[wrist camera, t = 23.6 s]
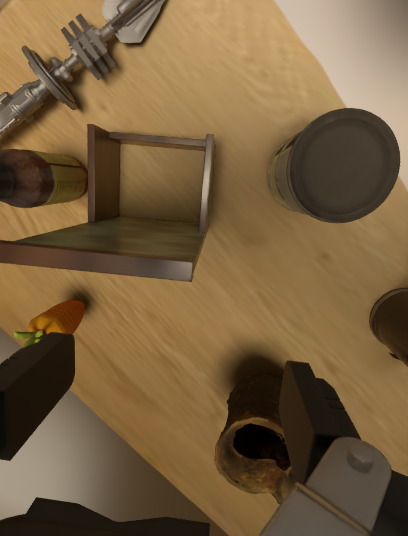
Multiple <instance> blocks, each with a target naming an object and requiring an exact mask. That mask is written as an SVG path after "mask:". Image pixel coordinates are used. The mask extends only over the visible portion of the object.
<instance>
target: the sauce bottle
mask: <svg viewBox="0 0 408 536" xmlns="http://www.w3.org/2000/svg"><path fill="white" fill-rule="evenodd" d="M87 186H88V177H87V173H86V171H85V169H84V166H83V165H82V164H81V163H80V162H78V161H77V160H75V159H73V158H70V157H69V156H65V155H59V154H52V153H44V152H38V151H31V150H18V149H6V150H2V151H0V201H2V202H5V203H7V204H9V205H12V206H15V207H20V208H32V207H38V206H44V205H51V204H57V203H64V202H70V201H73V200H75V199H78V198H79V197H81V196H82V195H83V193H84V192H85V190H86V189H87Z"/></svg>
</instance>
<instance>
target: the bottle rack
mask: <svg viewBox="0 0 408 536" xmlns="http://www.w3.org/2000/svg"><path fill="white" fill-rule="evenodd" d="M87 127H88V222H87V223H83V224H79V225H76V226H72V227H68V228H64V229H60V230H56V231H52V232H48V233H44V234H40V235H36V236H32V237H28V238H24V239H20V240H16V241H4V240H0V263H9V264H19V265H29V266H39V267H49V268H59V269H69V270H79V271H89V272H99V273H109V274H119V275H129V276H139V277H149V278H159V279H169V280H179V281H189V282H192V279H193V273H194V270H195V267H196V264H197V261H198V258H199V255H200V252H201V249H202V246H203V243H204V240H205V237H206V234H207V231H208V224H209V213H210V202H211V191H212V180H213V169H214V158H215V147H216V146H215V139H214V135H212V134H207V137H206V140H199V139H187V138H176V137H164V136H152V135H141V134H129V133H117V132H108V131H106V130H104V129H102V128H100V127H98V126H96V125H94V124H87ZM120 144H131V145H143V146H154V147H166V148H177V149H189V150H200V151H205V161H204V173H203V185H202V197H201V209H200V221H199V224H196V223H185V222H175V221H164V220H154V219H143V218H132V217H122V216H119V176H120Z"/></svg>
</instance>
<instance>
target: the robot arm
mask: <svg viewBox="0 0 408 536" xmlns="http://www.w3.org/2000/svg"><path fill="white" fill-rule="evenodd" d="M370 327H371V330H372V332H373V334H374V335H375V337H376V338H377V339H378V340H379V341H380V342H382V343H383V344H384V345H385V346H387V347H388V348H389V349H390V350H391V351H392V352H393V353H394V354H395V355H394V354H391V353H389V352H388V353H389V354H390V355H391V356H393V357H394V358H396V359H399V360H401V361H402V362H403V363H404V364H405V365H406V366H407V367H408V288H405V289H398V290H394V291H392V292H389V293H388V294H386V295H384V296H383V297H382V298H381V299H380V300H379V301H378V302H377V303H376V304H375V306H374V307H373V309H372V312H371V315H370ZM74 375H75V339H74V336H73V335H72V334H67V333H59V332H50V333H49V334H48V335H46V336H45V337H44V338H42V339H41V340H40V341H39V342H37V343H33V344H31V345H29V346H26V347H24V348H22V349H20V350H18V351H17V352H16V353H14V354H13V355H12V356H10V358H9V359H6V360H5V361H4V362H2V363H1V365H0V459H1V460H8V461H10V460H11V459H12V458H13V457H14V455H15V454H16V453H17V452H18V451H19V449H20V448H21V447H22V446H23V445H24V443H25V442H26V441H27V440H28V438H29V437H30V436H31V435H32V434H33V432H34V431H35V430H36V429H37V427H38V426H39V425H40V424H41V422H42V421H43V420H44V419H45V418H46V416H47V415H48V414H49V413H50V411H51V410H52V409H53V408H54V407H55V405H56V404H57V403H58V402H59V400H60V399H61V398H62V397H63V395H64V394H65V393H66V392H67V391H68V389H69V388H70V386H71V385H72V382H73V379H74ZM279 414H280V419H281V424H282V428H283V432H284V437H285V441H286V446H287V450H288V454H289V459H290V463H291V468H292V472H293V476H294V481H295V484H294V486H293V487H292V488H291V490H290V491H289V493H288V494H287V496H286V497H285V498H284V500H283V501H282V503H281V504H280V506H279V507H278V508H277V510H276V511H275V513H274V514H273V516H272V517H271V518H270V520H269V521H268V523H267V524H266V526H265V527H264V528H263V530H262V531H261V533H260V534H259V536H408V477H407V476H405V475H402V474H400V473H397V472H395V471H393V470H392V469H391V466H390V464H389V462H388V460H387V459H386V458H385V456H384V455H383V454H382V453H381V452H380V451H379V450H377V449H376V448H375V447H373V446H372V445H370V444H369V443H367V442H365V441H362V440H361V438H360V436H359V434H358V432H357V430H356V429H355V427H354V425H353V423H352V421H351V419H350V417H349V415H348V414H347V412H346V410H345V408H344V406H343V404H342V402H341V401H340V399H339V397H338V395H337V393H336V391H335V389H334V388H333V387H332V386H331V385H329V384H328V383H327V382H326V381H325V380H324V379H320V378H316V377H315V375H314V373H313V371H312V369H311V367H310V365H309V363H304V362H296V361H287V362H286V364H285V369H284V375H283V381H282V387H281V393H280V399H279ZM209 527H210V523H203V522H197V521H190V520H183V519H177V518H169V517H161V518H153V519H144V520H136V521H127V522H116V521H113V520H111V519H109V518H107V517H104V516H102V515H100V514H98V513H96V512H94V511H92V510H90V509H88V508H86V507H84V506H82V505H80V504H77V503H71V502H64V501H57V500H51V499H44V498H38V497H36V499H35V500H34V502H33V503H32V505H31V506H30V508H29V510H28V511H27V513H26V514H23V515H17V516H13V517H9V518H6V519H3V520H0V536H209V529H210V528H209Z"/></svg>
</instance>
